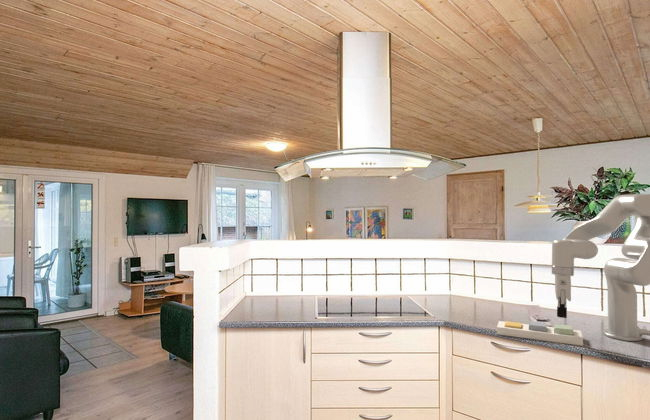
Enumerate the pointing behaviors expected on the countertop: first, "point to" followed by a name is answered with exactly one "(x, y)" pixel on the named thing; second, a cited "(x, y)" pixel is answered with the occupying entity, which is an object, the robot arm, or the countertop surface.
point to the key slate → (537, 326)
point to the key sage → (563, 329)
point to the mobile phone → (537, 315)
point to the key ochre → (513, 325)
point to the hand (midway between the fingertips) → (561, 317)
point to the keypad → (540, 334)
